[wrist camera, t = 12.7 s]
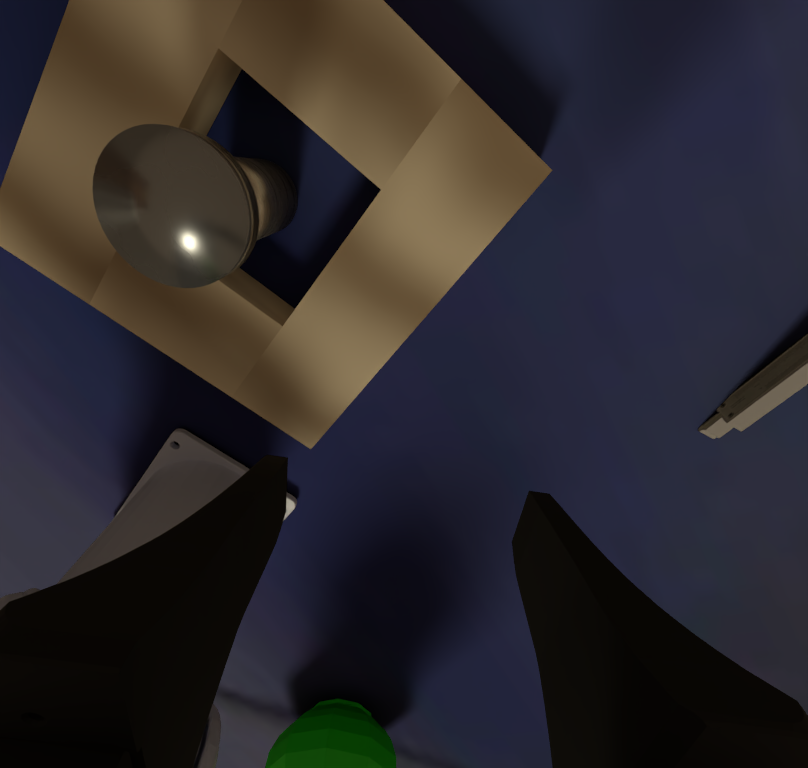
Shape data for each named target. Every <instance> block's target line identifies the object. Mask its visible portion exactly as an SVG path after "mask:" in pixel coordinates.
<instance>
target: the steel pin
mask: <svg viewBox="0 0 808 768" xmlns="http://www.w3.org/2000/svg"><path fill="white" fill-rule="evenodd" d="M93 200H94V205H95V210H96V213H97V217H98V220H99V222H100V224H101V227H102V229H103V231H104V233H105V235H106V236H107V238H108V240H109V241H110V243H111V244H112V246H113V247H114V249H115V250H116V251H117V252H118V253H119V254H120V256H121V257H122V258H123V259H124V260H125V261H126V262H127V263H128V264H129V265H131V266H132V267H133V268H134V269H136V270H137V271H138V272H140V273H141V274H143V275H145V276H146V277H148V278H150V279H152V280H154V281H156V282H159V283H162V284H164V285H168V286H172V287H178V288H197V287H202V286H206V285H209V284H212V283H214V282H216V281H218V280H220V279H221V278H223V277H225V276H227V275H229V274H231V273H232V272H234V271H235V270H237V269H238V268H239V267H240V266H241V265H242V264H243V263H244V262H245V261H246V260H247V258H248V257H249V256H250V254H251V252H252V250H253V248H254V246H255V243H256V241H257V240H259V239H261V238H264V237H266V236H269V235H271V234H273V233H276V232H278V231H280V230H282V229H284V228H285V227H287V226H288V225H289V224H290V222H291V221H292V220H293V218H294V216H295V213H296V210H297V203H298V201H297V192H296V188H295V186H294V183H293V181H292V179H291V178H290V176H289V175H288V174H287V172H286V171H285V170H284V169H283V168H281V167H280V166H279V165H277V164H276V163H274V162H271V161H269V160H265V159H256V158H244V157H233V156H232V155H231V154H230V153H229V152H228V151H227V150H226V149H225V148H224V147H223V146H221V145H220V144H218V143H217V142H216V141H214V140H213V139H211V138H209V137H207V136H205V135H203V134H201V133H198V132H196V131H193V130H189V129H185V128H180V127H174V126H169V125H162V124H143V125H138V126H134V127H131V128H129V129H126V130H124V131H122V132H121V133H119V134H118V135H116V136H115V137H114V138H113V139H112V140H111V141H109V143H108V144H107V145H106V146H105V148H104V149H103V151H102V152H101V154H100V156H99V158H98V161H97V163H96V166H95V170H94V175H93Z"/></svg>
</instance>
